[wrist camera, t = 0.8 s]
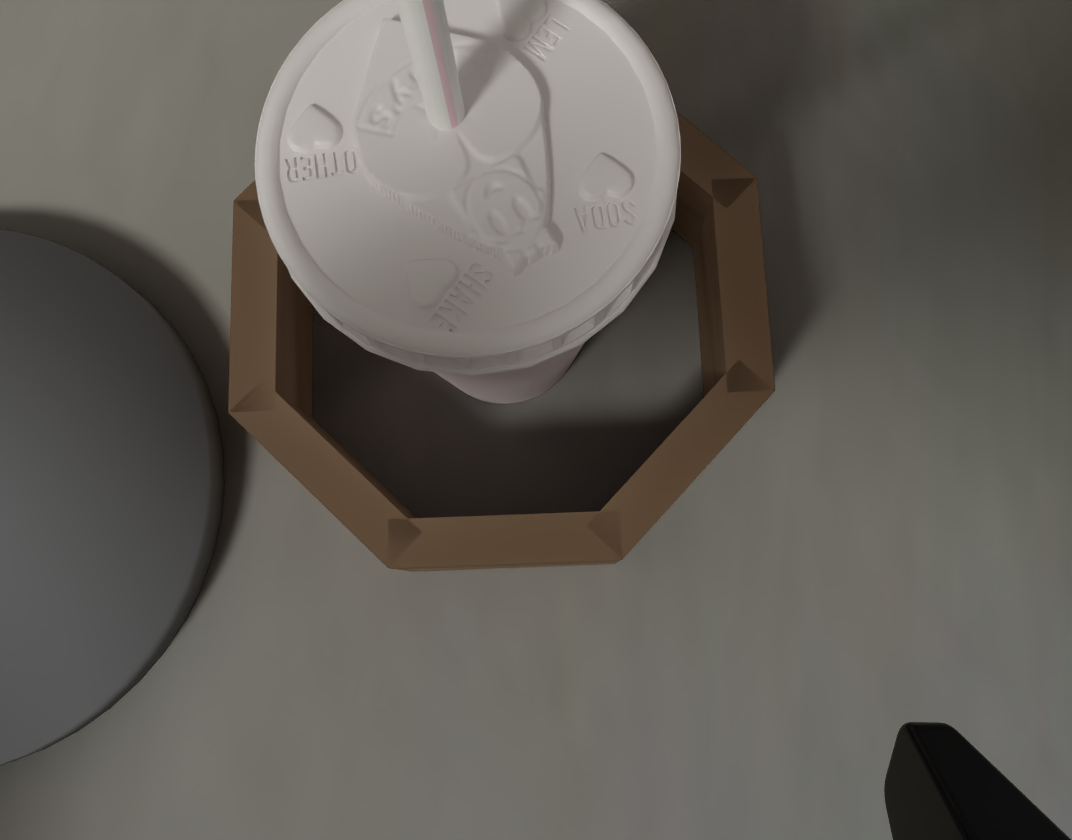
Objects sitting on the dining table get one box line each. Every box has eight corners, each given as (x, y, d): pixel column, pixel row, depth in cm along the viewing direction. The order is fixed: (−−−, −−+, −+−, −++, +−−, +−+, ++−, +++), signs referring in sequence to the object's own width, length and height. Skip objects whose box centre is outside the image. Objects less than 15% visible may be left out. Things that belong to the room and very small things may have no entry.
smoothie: (548, 165, 24) (532, -421, 10) (684, 373, 23) (876, 34, 9) (331, 290, 23) (-1, -146, 10) (458, 509, 22) (293, 371, 8)
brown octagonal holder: (515, 672, 21) (509, 685, 19) (177, 345, 23) (121, 309, 20) (837, 317, 23) (877, 276, 20) (495, 32, 24) (487, -44, 22)
